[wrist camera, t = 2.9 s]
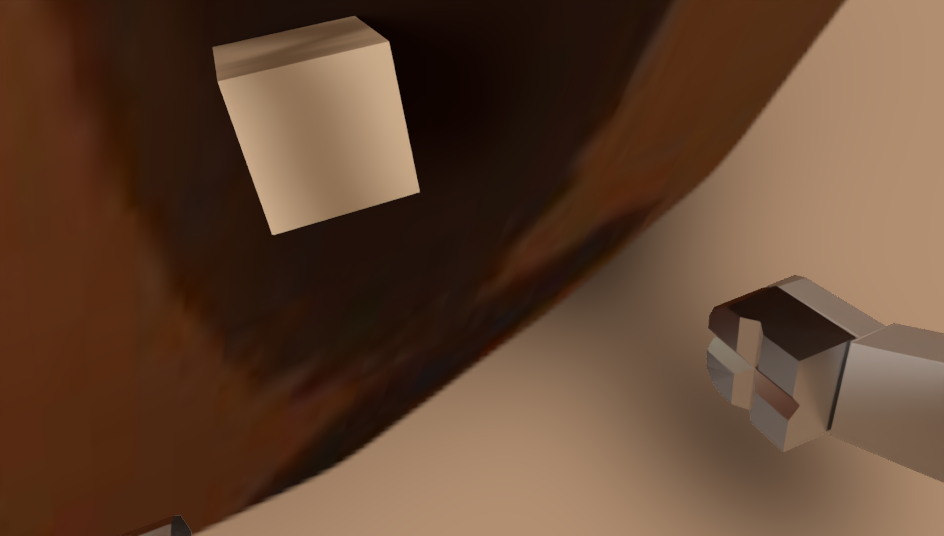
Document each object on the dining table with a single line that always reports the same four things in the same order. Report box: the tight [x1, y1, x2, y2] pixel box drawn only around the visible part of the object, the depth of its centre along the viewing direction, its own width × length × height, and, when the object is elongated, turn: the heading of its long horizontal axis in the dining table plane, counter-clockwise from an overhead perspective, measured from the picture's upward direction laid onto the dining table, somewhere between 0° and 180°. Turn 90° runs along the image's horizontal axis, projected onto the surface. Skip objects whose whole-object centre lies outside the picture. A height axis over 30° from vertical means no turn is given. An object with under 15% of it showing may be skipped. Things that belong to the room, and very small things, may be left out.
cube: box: [213, 16, 420, 235], centre depth 22 cm, size 5×5×5 cm
